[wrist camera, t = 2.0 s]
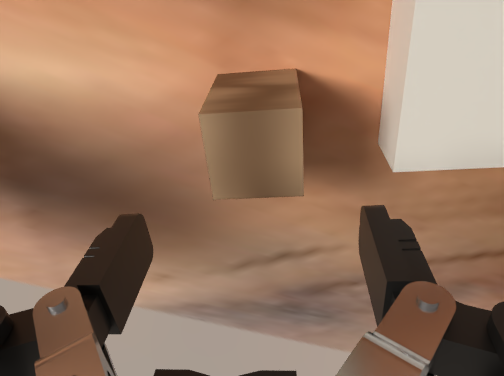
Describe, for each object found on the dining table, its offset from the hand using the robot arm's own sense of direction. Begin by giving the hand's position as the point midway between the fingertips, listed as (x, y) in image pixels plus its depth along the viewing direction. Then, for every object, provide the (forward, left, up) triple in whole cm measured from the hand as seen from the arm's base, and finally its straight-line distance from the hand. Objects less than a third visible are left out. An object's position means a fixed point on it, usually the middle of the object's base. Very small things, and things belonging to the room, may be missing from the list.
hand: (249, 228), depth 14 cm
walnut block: (0, 0, -13) cm, 13 cm away
